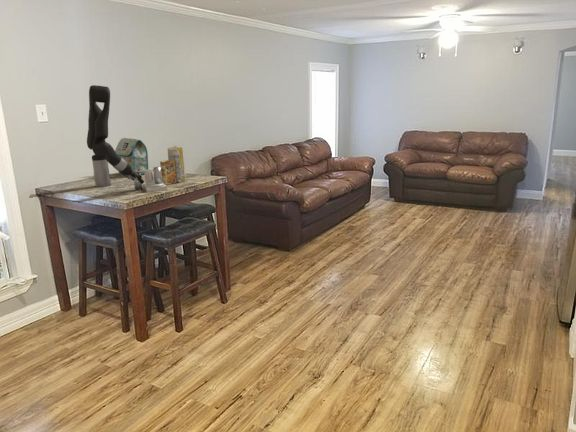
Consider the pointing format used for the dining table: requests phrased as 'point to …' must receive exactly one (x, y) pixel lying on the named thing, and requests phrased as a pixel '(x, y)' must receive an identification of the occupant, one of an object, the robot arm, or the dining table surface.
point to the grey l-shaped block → (152, 182)
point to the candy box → (168, 172)
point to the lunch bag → (133, 154)
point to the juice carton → (177, 162)
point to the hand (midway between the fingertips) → (140, 182)
